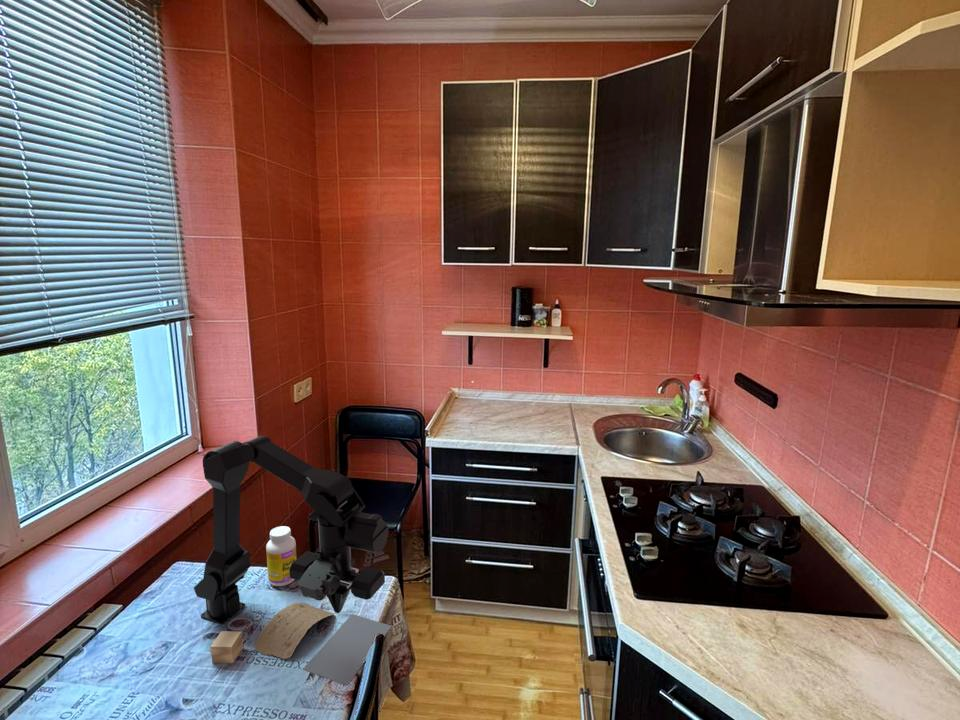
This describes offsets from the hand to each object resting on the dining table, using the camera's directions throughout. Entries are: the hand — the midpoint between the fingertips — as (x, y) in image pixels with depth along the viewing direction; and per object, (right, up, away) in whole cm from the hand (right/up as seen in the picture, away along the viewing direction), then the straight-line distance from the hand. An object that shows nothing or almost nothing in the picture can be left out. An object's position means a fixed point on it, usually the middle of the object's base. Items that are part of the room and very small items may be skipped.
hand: (338, 611), depth 97 cm
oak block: (-21, -8, -1) cm, 23 cm away
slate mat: (+2, -8, +1) cm, 8 cm away
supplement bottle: (-20, -4, +22) cm, 30 cm away
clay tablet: (-6, -8, +4) cm, 11 cm away
